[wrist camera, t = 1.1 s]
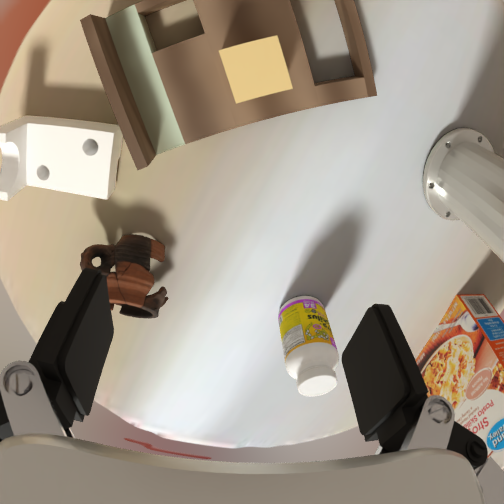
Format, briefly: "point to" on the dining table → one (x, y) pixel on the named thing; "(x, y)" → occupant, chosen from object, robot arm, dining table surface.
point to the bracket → (59, 156)
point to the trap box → (209, 71)
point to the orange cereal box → (470, 368)
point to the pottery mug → (129, 274)
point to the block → (256, 69)
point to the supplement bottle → (308, 345)
